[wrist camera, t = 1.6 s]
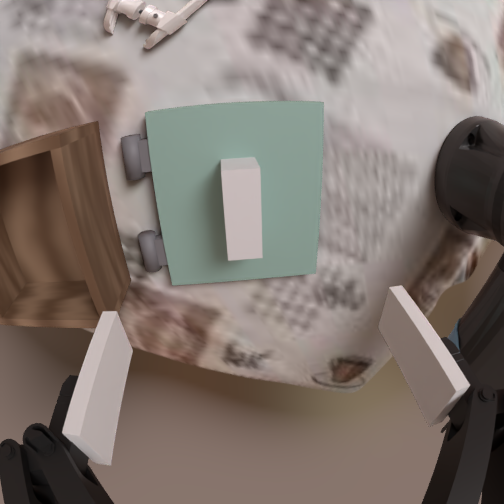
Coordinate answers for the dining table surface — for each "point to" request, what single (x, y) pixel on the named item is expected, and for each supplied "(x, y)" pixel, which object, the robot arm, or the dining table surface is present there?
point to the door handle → (149, 17)
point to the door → (232, 189)
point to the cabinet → (58, 232)
